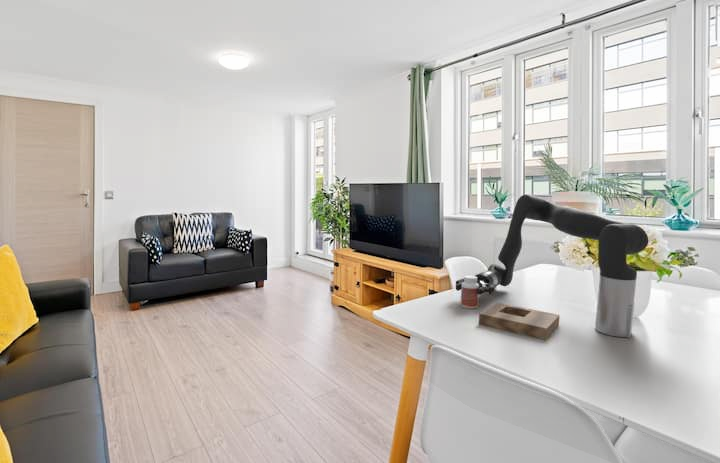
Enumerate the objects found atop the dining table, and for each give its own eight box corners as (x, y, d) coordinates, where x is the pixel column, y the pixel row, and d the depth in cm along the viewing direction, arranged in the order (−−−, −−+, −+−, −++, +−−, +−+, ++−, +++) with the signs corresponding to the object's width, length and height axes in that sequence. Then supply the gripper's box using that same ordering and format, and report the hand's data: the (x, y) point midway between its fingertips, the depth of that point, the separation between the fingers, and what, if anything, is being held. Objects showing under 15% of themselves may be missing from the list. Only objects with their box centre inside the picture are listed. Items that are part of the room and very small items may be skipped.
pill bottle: (480, 308, 140) (482, 278, 139) (464, 309, 139) (466, 279, 138) (473, 303, 146) (475, 274, 145) (457, 304, 145) (459, 275, 144)
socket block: (558, 325, 124) (559, 314, 124) (546, 340, 112) (546, 328, 111) (496, 312, 137) (496, 302, 136) (478, 324, 124) (479, 313, 124)
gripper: (468, 269, 157) (450, 276, 144) (503, 275, 148) (487, 283, 136) (467, 287, 158) (449, 296, 145) (502, 294, 149) (486, 303, 136)
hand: (467, 289), depth 140 cm, fingers open, 8 cm apart
